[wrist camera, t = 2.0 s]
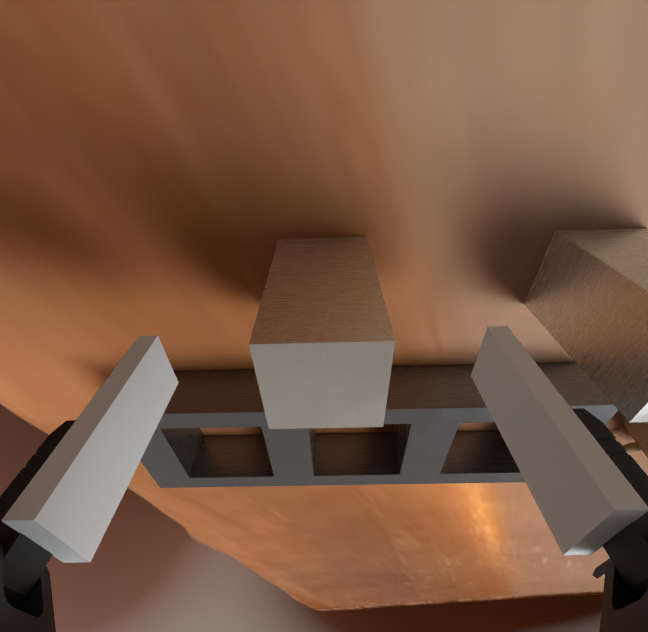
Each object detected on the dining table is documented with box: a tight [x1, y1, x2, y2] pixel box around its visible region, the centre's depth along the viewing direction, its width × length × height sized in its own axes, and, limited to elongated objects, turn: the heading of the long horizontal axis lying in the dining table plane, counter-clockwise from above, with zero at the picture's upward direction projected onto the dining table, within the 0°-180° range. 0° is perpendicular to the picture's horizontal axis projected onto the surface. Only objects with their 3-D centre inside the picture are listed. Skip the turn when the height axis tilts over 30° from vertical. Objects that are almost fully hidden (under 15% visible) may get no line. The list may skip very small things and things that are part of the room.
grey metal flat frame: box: [140, 363, 618, 488], centre depth 23 cm, size 10×31×4 cm, turn 92°
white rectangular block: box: [524, 228, 648, 423], centre depth 14 cm, size 4×4×8 cm
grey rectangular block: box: [249, 236, 395, 429], centre depth 14 cm, size 4×4×8 cm
